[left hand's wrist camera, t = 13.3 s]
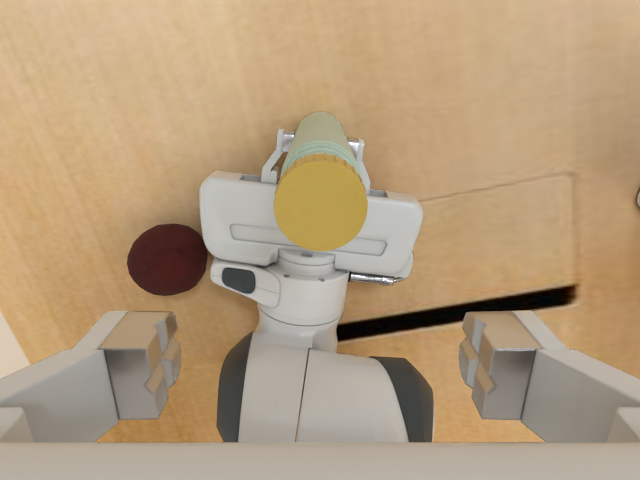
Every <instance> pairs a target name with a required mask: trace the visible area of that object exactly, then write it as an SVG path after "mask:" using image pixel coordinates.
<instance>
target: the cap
mask: <svg viewBox="0 0 640 480" xmlns="http://www.w3.org/2000/svg"><path fill="white" fill-rule="evenodd" d="M278 184H279V185H277V188H276V191H275V199H274V203H273V205H274V214H275V218H276V221H277V224H278V226H279V228H280V229H281V231H282V232H283V234H284V235H285V236H286V237H287V238H288V239H289V240H290V241H292V242H293V243H294V244H296V245H298V246H300V247H302V248H305V249H308V250H312V251H329V250H334V249H337V248H339V247H342V246H344V245H345V244H347V243H349V242H350V241H351V240H352V239H353V238H354V237H355V236H356V235H357V234H358V233H359V232H360V230H361V228H362V227H363V225H364V222H365V220H366V216H367V210H368V200H367V196H366V189H365V187H364V184H362V180H361V177H360V175H359V174H357V172H356V171H355V169H354V167H353V166H351V165H350V164H348V163H347V162H346V160H345V159H344V160H343V159H341V158H339V157H337V156H336V155H335V156H333V155H329V154H326V153H324V154H315V153H314V154H312V155H308V156H303V158H301V159H299V160H297V161H296V160H295V161H294V163H293V164H292V165H291V166H290V167H289V168H288V167H287V168H286V171H285V173H284V174H283V176H281V177H280V180H279V183H278Z"/></svg>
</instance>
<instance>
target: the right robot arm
mask: <svg viewBox="0 0 640 480" xmlns="http://www.w3.org/2000/svg"><path fill="white" fill-rule="evenodd" d="M294 136H295V130H290V129H283V128H279V129H278V133H277V144H276V149H275V150H274V152H273V153H272V154H271V156H270V157H269V159H268V160H267V162H266V163H265V164H264V166H263V168H262V172H261V176H260V175H252V174H244V173H235V172H227V171H214V172H213V173H211V174H210V175H209V176H207V177H206V178H205V180H204V181H203V182H202V184H201V186H200V191H199V205H200V220H201V229H202V236H203V240H204V243H205V246H206V248H207V249H208V251H209V252H210V253H211V254H212V255H213V256H214V258H213V261H212V264H211V269H210V278H211V280H212V282H214V283H215V284H217V285H219V286H221V287H224V288H227V289H229V290H232V291H234V292H237V293H239V294H241V295H244V296H246V297H248V298H250V299H252V300H255V301H257V307H258V312H259V323H258V325H257V328H256V330H255V332H251V333H249V334H248V335H247V336H245V337H244V338H243V339H242V340H241V341H240V342H239V343H238V344H237V345H236V346H234V347H233V348H232V349H231V350H230V352H229V353H228V354H227V356H226V358H225V360H224V363H223V366H222V369H221V374H220V380H219V390H218V407H217V429H218V431H219V433H220V435H221V437H222V439H223V441H224V442H433V438H434V431H435V405H434V399H433V392H432V388H431V387H430V385H429V384H428V382H427V381H426V380H425V378H424V377H423V376H422V375H421V374H420V372H419V371H418V370H417V369H416V368H415V367H414V366H413V365H412V364H411V363H410V362H409V361H407V360H406V359H405V358H392V357H375V356H370V357H363V356H355V355H348V354H341V353H336V352H337V345H338V340H337V334H336V328H337V325H338V323H339V321H340V319H341V317H342V314H343V309H344V303H345V297H346V291H347V285H348V282H359V283H377V284H380V285H386V286H389V285H393V284H394V282H399V281H402V280H404V279H405V278H406V277H408V276H409V274H410V272H411V268H412V264H413V259H414V253H413V247H414V245H415V242H416V239H417V236H418V233H419V230H420V227H421V224H422V220H423V215H424V212H423V209H422V206H421V205H420V203H419V202H418V200H417V199H416V198H415V197H414V196H413V195H412V194H409V193H401V192H393V191H384V190H376V189H370V185H371V181H370V179H369V176H368V173H367V171H366V168H365V166H364V163H363V161H362V156H363V150H364V139H362V138H353V137H347V140H348V142H349V145H350V147H351V149H352V152H353V154H354V157H355V159H356V162H357V164H358V167H359V170H360V175H361V180H362V184H364V187H365V189H366V196H367V200H368V210H367V216H366V220H365V222H364V225H363V227H362V228H361V230H360V232H359V233H358V234H357V235H356V236H355V237H354V238H353V239H352V240H351V241H350V242H349V243H347V244H345V245H344V246H342V247H339V248H337V249H334V250H329V251H312V250H308V249H305V248H302V247H300V246H298V245H296V244H294V243H293V242H292V241H290V240H289V239H288V238H287V237H286V236H285V235H284V234H283V232H282V231H281V229H280V228H279V226H278V224H277V221H276V218H275V214H274V205H273V203H274V199H275V191H276V188H277V185H279V184H278V183H279V180H280V178H278V177H279V167H278V166H274V165H275V163H276V162H277V160H278V159H279V157H280V156H281V155H282V153H283V152H288V151H289V149H290V146H291V144H292V141H293V139H294ZM273 166H274V167H273ZM394 277H398V278H394ZM297 429H298V434H297ZM296 436H297V441H296Z"/></svg>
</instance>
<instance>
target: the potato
mask: <svg viewBox="0 0 640 480" xmlns="http://www.w3.org/2000/svg"><path fill="white" fill-rule="evenodd" d="M206 263H207V250H206V246H205V243H204V240H203V239H202V237H201V236H200V234H199V233H198V232H196V231H195V230H193V229H192V228H190V227H188V226H184V225H179V224H165V225H157V226H155V227H153V228H151V229H149V230H147V231H145V232H144V233H143V234H141V235H140V236H139V238H138V239H137V240H136V241H135V242H134V243H133V245H132V248H131V250H130V252H129V254H128V260H127V265H128V270H129V274H130V276H131V277H132V279H133V280H134V281H135V282H136V283H137V284H138V285H139V287H141V288H142V289H144V290H145V291H147V292H149V293H152V294H155V295H162V296H168V295H175V294H178V293H182V292H185V291H189V290H190V289H192V288H193V287H195V286H196V285H197V283H198V282H199V280H200V279H201V278H202V276H203V274H204V272H205V270H206Z"/></svg>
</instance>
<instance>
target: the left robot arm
mask: <svg viewBox="0 0 640 480" xmlns="http://www.w3.org/2000/svg"><path fill="white" fill-rule="evenodd" d="M637 203H638V205H639V207H640V192H639V194H638V197H637ZM177 328H178V327H177V322H176V316H175V315H174V313H173V312H162V311H108V312H105V313H104V314H103V316H102V317H101V318H100V319H99V320H98V321H97V322H96V323H95V324H94V326H93V327H92V328H91V329H90V330H89V331H88V332H87V333H86V334H85V335H84V337H83V338H82V339H81V340H80V341H79V342H78V343H77V344H76V345H75V347H74V348H73V349H65V350H63V351H60V352H58V353H56V354H54V355H52V356H49V357H47V358H45V359H43V360H41V361H39V362H36V363H34V364H32V365H30V366H28V367H26V368H23V369H21V370H19V371H17V372H15V373H13V374H10V375H8V376H6V377H4V378H2V379H0V480H640V379H638V378H636V377H634V376H632V375H630V374H627V373H625V372H623V371H621V370H619V369H617V368H614V367H612V366H610V365H608V364H606V363H604V362H601V361H599V360H597V359H595V358H593V357H590V356H588V355H586V354H584V353H582V352H580V351H577V350H575V349H567V348H566V347H565V345H564V344H563V343H562V342H561V341H560V340H559V339H558V338H557V337H556V335H555V334H554V333H553V332H552V331H551V330H550V329H549V328H548V327H547V326H546V324H545V323H544V322H543V321H542V320H541V319H540V318H539V317H538V316H537V314H536V313H535V312H532V311H530V310H528V311H494V312H467V313H466V314H465V317H464V321H463V327H462V328H463V330H464V332H465V334H466V336H467V337H466V338H465V339H464V341H463V342H462V343H461V344H460V350H459V365H460V371H461V375H462V377H463V380H464V382H465V384H466V385H468V386H469V387H471V388H472V389H473V391H472V399H473V401H474V403H475V406H476V408H477V410H478V412H479V414H480V416H481V418H482V419H498V420H521V422H522V423H523V424H524V425H525V426H527V427H528V428H529V429H530V430H532V431H533V432H534V433H535V434H536V435H538V436H539V437H540V438H541V439H542V440H544V441H545V442H95V441H96V440H98V439H99V438H100V437H101V436H103V435H104V434H105V433H106V432H107V431H109V430H110V429H111V428H112V427H114V426H115V425H116V424H117V423H118V422H119V420H141V419H158V418H159V416H160V414H161V412H162V410H163V408H164V406H165V403H166V401H167V399H168V391H167V389H168V388H169V387H171V386H172V385H174V384H175V382H176V380H177V377H178V375H179V370H180V365H181V349H180V344H179V343H178V342H177V341H176V339H175V338H174V337H173V336H174V334H175V332H176V330H177Z"/></svg>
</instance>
